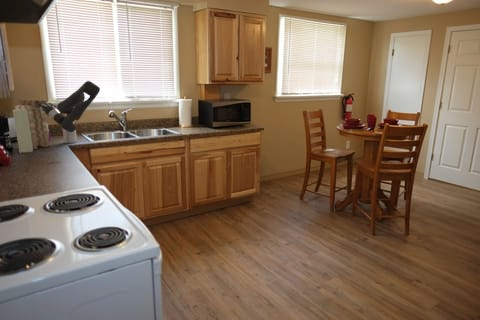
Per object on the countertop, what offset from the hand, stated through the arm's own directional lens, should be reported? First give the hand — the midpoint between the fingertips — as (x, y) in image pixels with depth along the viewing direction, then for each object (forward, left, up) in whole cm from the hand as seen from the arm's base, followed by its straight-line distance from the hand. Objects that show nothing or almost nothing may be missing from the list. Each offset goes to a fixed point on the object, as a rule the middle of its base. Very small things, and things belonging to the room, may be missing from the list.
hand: (39, 101), depth 240 cm
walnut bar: (-2, -7, -3) cm, 8 cm away
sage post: (+13, -5, -35) cm, 38 cm away
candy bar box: (-22, -22, -36) cm, 47 cm away
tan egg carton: (-3, -12, -35) cm, 38 cm away
